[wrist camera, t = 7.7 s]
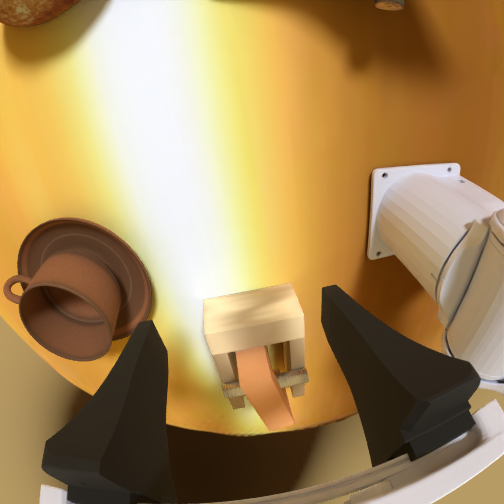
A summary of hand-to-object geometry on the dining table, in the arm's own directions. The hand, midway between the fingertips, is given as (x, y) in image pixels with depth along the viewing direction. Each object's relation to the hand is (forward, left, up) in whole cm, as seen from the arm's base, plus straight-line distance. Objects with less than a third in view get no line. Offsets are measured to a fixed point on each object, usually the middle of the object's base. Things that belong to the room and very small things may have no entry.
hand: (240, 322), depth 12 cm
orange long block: (-1, +14, -9) cm, 17 cm away
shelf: (-1, +13, -10) cm, 17 cm away
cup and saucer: (+12, +3, -11) cm, 17 cm away
